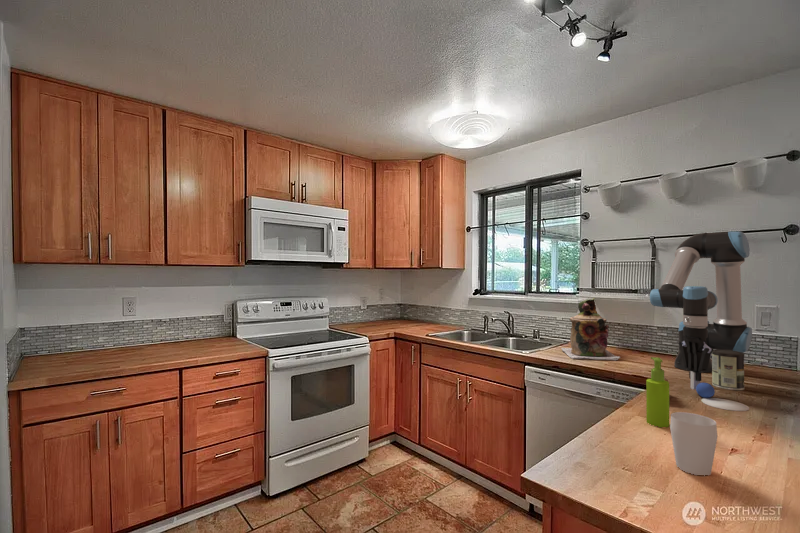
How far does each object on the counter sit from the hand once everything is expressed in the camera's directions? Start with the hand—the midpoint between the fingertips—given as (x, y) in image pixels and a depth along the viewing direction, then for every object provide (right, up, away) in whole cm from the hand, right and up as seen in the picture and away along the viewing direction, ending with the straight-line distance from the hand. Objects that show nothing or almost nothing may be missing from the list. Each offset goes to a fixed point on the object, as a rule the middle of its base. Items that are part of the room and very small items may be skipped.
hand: (695, 388), depth 150 cm
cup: (-43, -2, -56) cm, 71 cm away
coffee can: (+21, -3, +10) cm, 23 cm away
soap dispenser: (-33, -2, -28) cm, 44 cm away
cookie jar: (-8, -3, +68) cm, 68 cm away
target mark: (+2, -2, -11) cm, 12 cm away
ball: (+1, +1, -4) cm, 4 cm away
